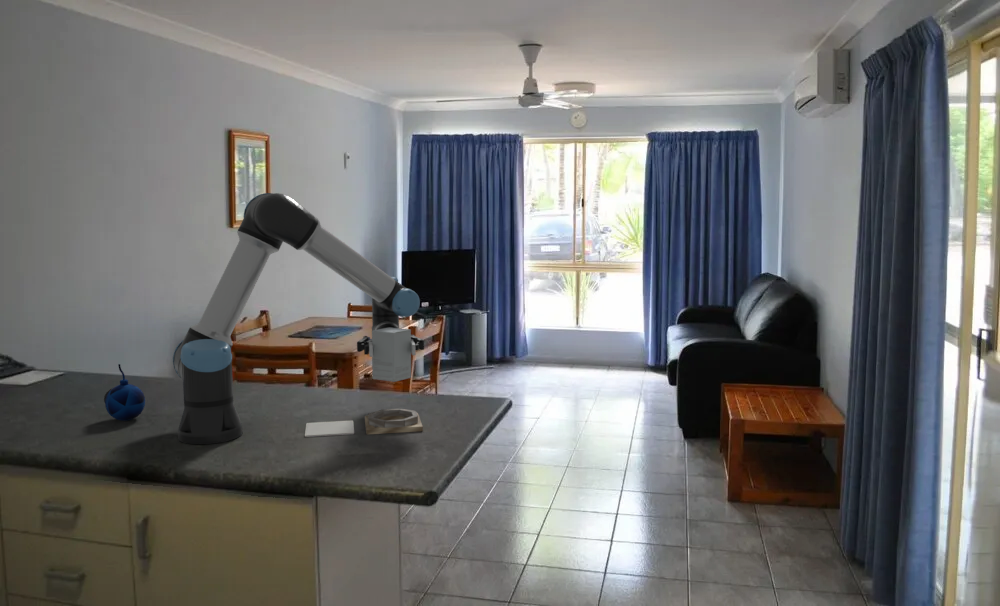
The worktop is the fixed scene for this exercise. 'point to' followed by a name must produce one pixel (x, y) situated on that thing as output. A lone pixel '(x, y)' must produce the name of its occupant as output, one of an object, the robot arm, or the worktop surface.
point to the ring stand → (393, 421)
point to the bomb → (124, 400)
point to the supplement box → (391, 354)
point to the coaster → (329, 428)
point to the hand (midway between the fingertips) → (392, 350)
